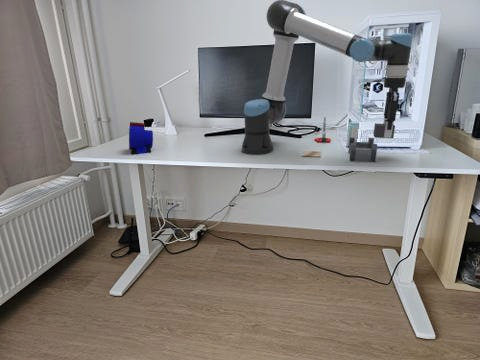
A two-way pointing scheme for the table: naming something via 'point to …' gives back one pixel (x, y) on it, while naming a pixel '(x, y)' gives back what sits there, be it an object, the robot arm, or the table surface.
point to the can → (352, 131)
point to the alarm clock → (140, 138)
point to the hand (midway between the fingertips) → (386, 135)
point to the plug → (381, 130)
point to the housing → (362, 150)
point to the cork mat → (311, 154)
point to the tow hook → (323, 135)
